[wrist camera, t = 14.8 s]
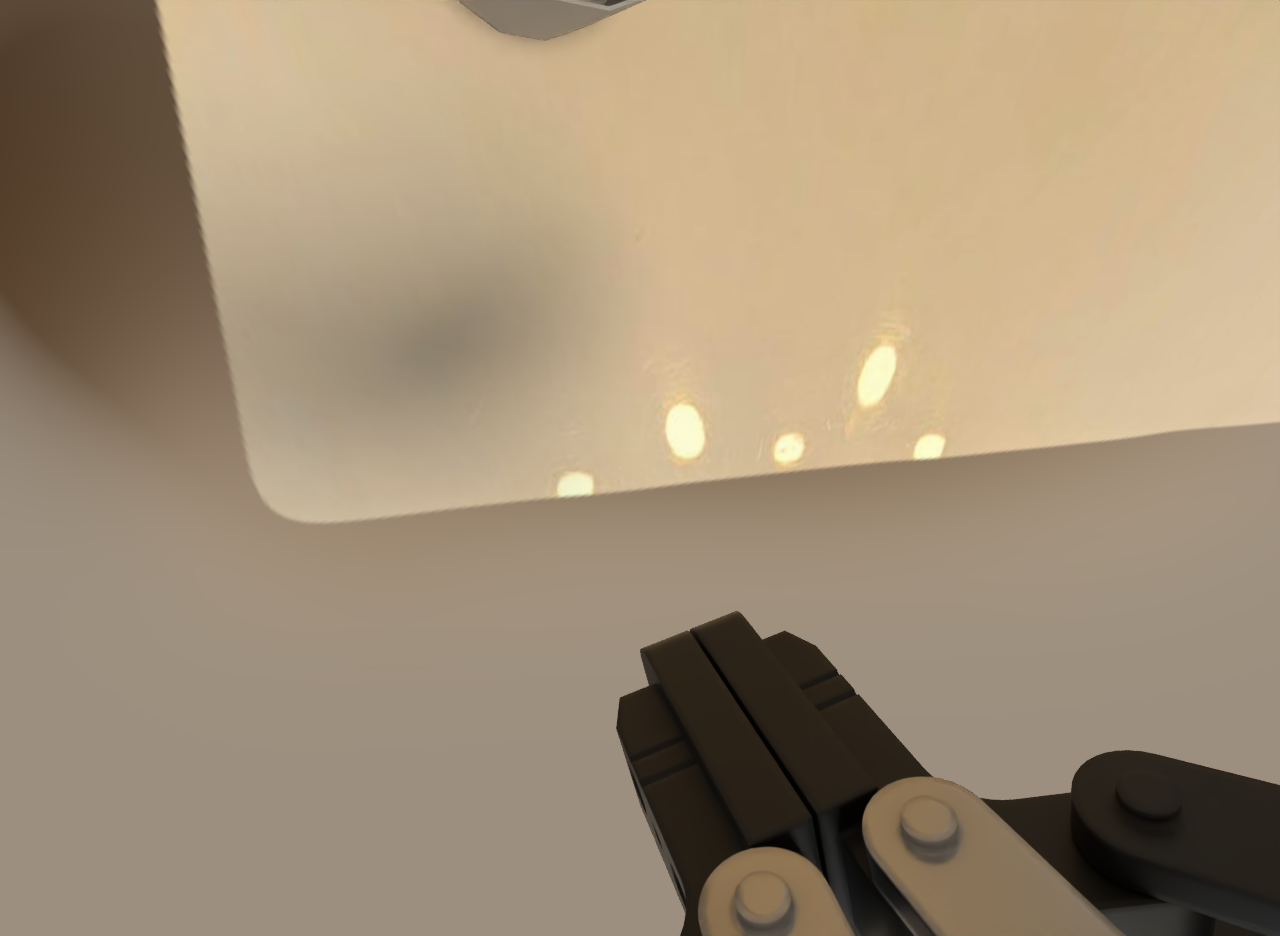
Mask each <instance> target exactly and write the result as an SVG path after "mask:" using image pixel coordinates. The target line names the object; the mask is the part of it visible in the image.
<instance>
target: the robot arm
mask: <svg viewBox="0 0 1280 936" xmlns="http://www.w3.org/2000/svg"><path fill="white" fill-rule="evenodd" d="M640 653H641V658H642V662H643V665H644V669H645V673H646V676H647V680H648V683H649V686H648V687H646V688H643V689H640V690H638V691H635V692H633V693H630V694H628V695H625V696H623V697H621V698H620V701H619V709H618V719H617V727H616V729H617V732H618V735H619V739H620V742H621V745H622V748H623V751H624V754H625V758H626V761H627V764H628V767H629V770H630V773H631V776H632V780H633V783H634V786H635V789H636V793H637V796H638V799H639V802H640V805H641V808H642V810H643V813H644V815H645V817H646V820H647V822H648V824H649V827H650V829H651V832H652V834H653V836H654V838H655V841H656V844H657V846H658V849H659V851H660V853H661V856H662V858H663V861H664V862H665V865H666V868H667V870H668V873H669V875H670V877H671V880H672V882H673V885H674V887H675V889H676V891H677V894H678V897H679V899H680V901H681V904H682V906H683V909H684V911H685V913H686V915H685V921H684V926H683V929H682V932H681V935H680V936H1280V785H1277V784H1273V783H1269V782H1265V781H1261V780H1257V779H1253V778H1249V777H1245V776H1241V775H1237V774H1233V773H1229V772H1225V771H1221V770H1217V769H1213V768H1209V767H1205V766H1201V765H1197V764H1193V763H1188V762H1185V761H1181V760H1177V759H1173V758H1169V757H1164V756H1161V755H1157V754H1152V753H1147V752H1142V751H1130V750H1125V751H1113V752H1107V753H1103V754H1100V755H1097V756H1095V757H1093V758H1091V759H1089V760H1087V761H1086V762H1085V763H1084V764H1083V765H1081V766H1080V768H1079V769H1078V770H1077V772H1076V773H1075V775H1074V778H1073V781H1072V789H1071V793H1064V794H1056V795H1048V796H1039V797H1031V798H1023V799H1014V800H990V799H984V798H979V797H978V796H976V795H975V794H974V793H973V792H971V791H970V790H968V789H966V788H964V787H962V786H961V785H958V784H956V783H954V782H951V781H948V780H944V779H940V778H934V777H933V776H931V775H930V774H929V773H928V772H927V771H926V770H925V769H924V768H923V767H922V766H921V764H920V763H919V762H918V761H917V760H916V759H915V758H914V757H913V755H912V754H911V753H910V752H909V751H908V750H907V749H906V747H905V746H904V745H903V744H902V743H901V742H900V741H899V739H897V737H896V736H895V735H894V734H893V733H892V732H891V730H890V729H889V728H888V727H887V726H886V725H885V724H884V722H883V721H882V720H881V719H880V718H879V717H878V716H877V715H876V713H875V712H874V711H873V710H872V709H871V708H870V707H869V706H868V704H867V703H866V702H865V701H864V700H863V699H862V698H861V697H860V695H857V694H856V693H855V691H854V689H853V687H852V686H851V685H850V684H849V683H848V682H847V681H846V680H845V678H844V677H843V676H842V675H839V674H838V672H837V669H836V668H835V667H834V666H833V665H832V664H831V662H830V661H829V660H828V659H827V658H826V657H825V656H824V655H823V654H822V652H821V651H820V650H819V649H818V648H817V647H816V646H815V645H813V644H811V643H809V642H807V641H805V640H803V639H801V638H799V637H797V636H795V635H793V634H790V633H788V632H786V631H783V632H780V633H778V634H775V635H773V636H771V637H768V638H766V639H763V640H762V639H761V638H760V636H759V635H758V634H757V633H756V632H755V630H754V629H753V627H752V626H751V625H750V624H749V622H748V621H747V620H746V619H745V617H744V616H743V615H742V614H741V613H740V612H738V611H735V612H732V613H730V614H728V615H725V616H722V617H720V618H717V619H715V620H712V621H710V622H707V623H705V624H702V625H700V626H697V627H695V628H692V629H690V632H689V631H685V632H682V633H680V634H678V635H675V636H672V637H670V638H667V639H665V640H662V641H660V642H657V643H655V644H652V645H650V646H647V647H644V648H642V649H640Z"/></svg>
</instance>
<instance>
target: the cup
mask: <svg viewBox="0 0 1280 936" xmlns="http://www.w3.org/2000/svg"><path fill="white" fill-rule="evenodd" d="M459 1H460V2H461V3H462V4H463V5H465V6H466V7H467V8H469V9H470V10H471V11H473V12H474V13H475V14H477V15H478V16H479V17H481V18H482V19H483V20H485V21H486V22H487V23H489V24H490V25H491V26H493V27H494V28H495V29H497V30H498V31H499V32H502V33H507V34H512V35H518V36H523V37H529V38H534V39H539V40H548V39H551V38H554V37H557V36H560V35H563V34H566V33H569V32H571V31H574V30H577V29H580V28H583V27H586V26H588V25H591V24H593V23H595V22H597V21H600V20H602V19H604V18H606V17H609V16H611V15H613V14H616V13H618V12H620V11H622V10H625V9H627V8H629V7H632V6H634V5H636V4H638V3H641V2H643V1H645V0H459Z"/></svg>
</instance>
